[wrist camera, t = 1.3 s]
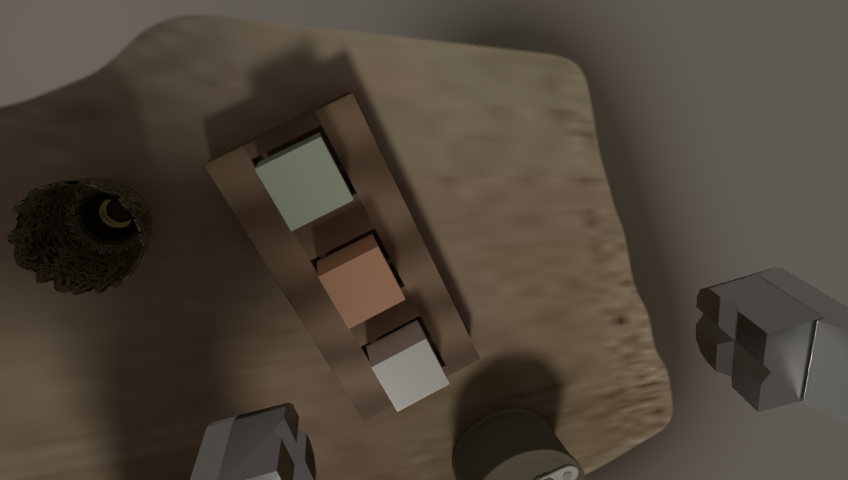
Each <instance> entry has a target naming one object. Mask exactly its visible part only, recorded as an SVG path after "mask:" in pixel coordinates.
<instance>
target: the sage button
mask: <svg viewBox="0 0 848 480" xmlns="http://www.w3.org/2000/svg"><path fill="white" fill-rule="evenodd" d="M255 171H256V173H257V174H258V176H259V178H260V179H261V181H262V183H263V184H264V186H265V188H266V190H267V191H268V193H269V195H270V196H271V198H272V200H273V201H274V203H275V205H276V207H277V208H278V210H279V212H280V213H281V215H282V217H283V218H284V220H285V222H286V224H287V225H288V227H289V229H290V230H291V231H293V230H295V229H297V228H299V227H301V226H303V225H305V224H307V223H309V222H311V221H313V220H315V219H317V218H319V217H321V216H323V215H325V214H327V213H329V212H331V211H333V210H335V209H337V208H339V207H341V206H343V205H345V204H347V203H349V202H351V201H353V200H354V199H353V197H352V195H351V192H350V190H349V188H348V186H347V184H346V182H345V180H344V178H343V177H342V175H341V173H340V171H339V169H338V167H337V165H336V163H335V161H334V159H333V157H332V155H331V153H330V152H329V150H328V148H327V146H326V144H325V142H324V140H323V138H322V136H321V134H320V132H319V133H317V134H315V135H313V136H310V137H308V138H306V139H304V140H302V141H300V142H298V143H296V144H294V145H292V146H290V147H288V148H286V149H284V150H282V151H280V152H278V153H276V154H274V155H272V156H270V157H267V158H265V159H263V160H261V161H259V162H258V164H257V166H256V168H255Z"/></svg>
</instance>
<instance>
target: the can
mask: <svg viewBox="0 0 848 480" xmlns="http://www.w3.org/2000/svg"><path fill="white" fill-rule="evenodd" d="M452 469H453V473H454V476H455V479H456V480H586V479H585V475H584V472H583V470H582V468H581V466H580V465H579V463H578V462H577V461H576V460H575V459H574V457H572V456H571V455H570V454H569V453H568V451H567V450H566V449H565V447H564V446H563V444H562V443H561V442H560V440H559V439H558V438H557V436H556V435H555V434H554V432H553V431H552V430H551V428H550V426H549V425H548V424H547V422H546V421H545V420H544V419H543V418H542V417H541V416H540V415H538V414H537V413H535V412H533V411H531V410H528V409H524V408H504V409H499V410H496V411H493V412H491V413H488V414H486V415H484V416H482V417H481V418H479V419H478V420H476V421H475V422H474V423H473V424H471V425H470V426H469V427H468V428H467V429H466V430H465V432H464V433H463V434H462V435H461V437H460V438H459V440H458V442H457V444H456V446H455V449H454V452H453V457H452Z"/></svg>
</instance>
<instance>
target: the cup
mask: <svg viewBox="0 0 848 480" xmlns="http://www.w3.org/2000/svg"><path fill="white" fill-rule="evenodd" d="M114 201H119V202H121V204H122V206H123V207H125V208H128V210H129V212H130V214H131V215H130V217H129V218H128V219H127V220H125V221H116V220H114V219H112V218H111V217H110V216H109V214H108V211H107V209H108V206H109V204H110V203H112V202H114ZM13 212H15V214H17V213H18V214H19V216H18V217H17V218H16V221H15V222H16V223H17V224H16V228H15V229H14V230H13V231H11V232H9V234H8V242H9V243H11V244H13V245H15V248H14V258H15V261H16V264H17V265H18V266H20V267H22V268H24V269H27V270H31V271H34V272H37V275H36V276H35V278H36V279H35V280H36V281H37V283H40V284H41V283H44V282H48V281H51V280H54V289H55V290H57V291H58V292H69V291H70V290H71V292H72V293H73V294H74V295H77V294H81V293H84V292H89V291H91V290H92V289H95V292H97V293H101V292H103V291H104V290H106V289H107V288H108V287H111V286H113V287H116V286H119V285H121V284H123V283H124V282H125V281H126V280H127V279H128V278H129V277H130V276H131V275H132V273H133V272H134V271H135V270H136V269H137V267H138V265H139V263H140V260H141V258H142V256H143V254H144V252H145V250H146V248H147V246H148V243H149V241H150V237H151V233H152V219H151V215H150V211H149V209H148V207H147V205H146V203H145V202H144V201H143V199H142V198H141V197H140V196H139V195H138V194H137V193H136V192H135V191H133V190H132V189H131V188H129V187H127V186H126V185H123V184H121V183H119V182H116V181H112V180H108V179H101V178H85V179H77V180H70V181H60V182H58V183H53V184H49V185H45V186H41V187H38V188H35V189H33V190H31V191H30V192H29V193H28V194H27V196H26V198H25V199H24V200H22V201H20V202H19V203H17V204H16V205H15V206H14V207H13Z"/></svg>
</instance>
